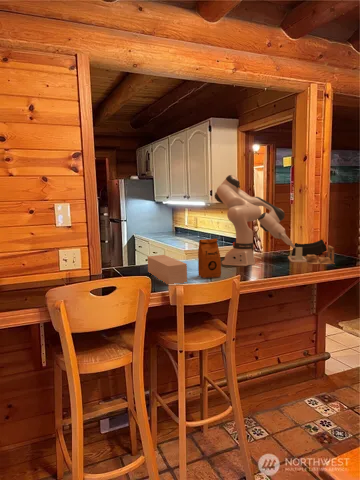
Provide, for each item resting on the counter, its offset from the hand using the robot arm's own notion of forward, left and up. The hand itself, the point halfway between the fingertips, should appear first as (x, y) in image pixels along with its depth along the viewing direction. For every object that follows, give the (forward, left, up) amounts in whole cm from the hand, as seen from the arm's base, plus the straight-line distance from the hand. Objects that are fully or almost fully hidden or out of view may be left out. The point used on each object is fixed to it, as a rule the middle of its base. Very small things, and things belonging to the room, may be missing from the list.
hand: (293, 246), depth 219 cm
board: (+4, +1, -10) cm, 11 cm away
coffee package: (-52, -44, -11) cm, 69 cm away
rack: (+16, -5, -10) cm, 19 cm away
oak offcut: (+11, -5, -7) cm, 14 cm away
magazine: (+15, +23, -11) cm, 30 cm away
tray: (+3, +1, -10) cm, 11 cm away
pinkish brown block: (-77, -49, -11) cm, 92 cm away
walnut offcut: (+11, -5, -9) cm, 15 cm away
